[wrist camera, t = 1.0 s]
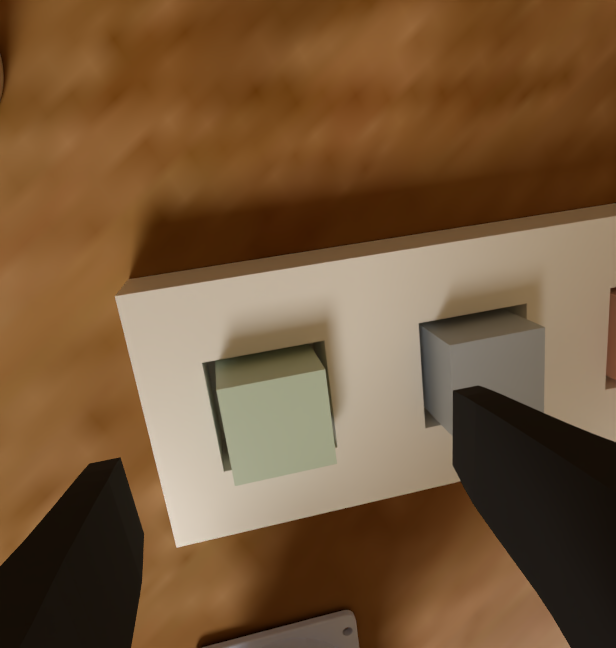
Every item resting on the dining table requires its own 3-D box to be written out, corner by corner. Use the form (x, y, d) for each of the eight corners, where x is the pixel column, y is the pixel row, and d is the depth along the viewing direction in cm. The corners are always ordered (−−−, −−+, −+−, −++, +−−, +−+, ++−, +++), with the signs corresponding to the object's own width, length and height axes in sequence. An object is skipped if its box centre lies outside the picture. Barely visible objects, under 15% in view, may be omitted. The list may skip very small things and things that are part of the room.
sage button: (320, 427, 20) (337, 463, 18) (231, 445, 20) (234, 486, 17) (309, 343, 19) (325, 369, 17) (215, 360, 19) (216, 390, 16)
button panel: (676, 391, 26) (733, 417, 23) (180, 500, 22) (176, 547, 19) (695, 190, 23) (764, 191, 20) (128, 279, 19) (114, 296, 17)
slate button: (502, 389, 22) (543, 418, 19) (423, 405, 21) (454, 438, 18) (501, 308, 21) (544, 327, 18) (417, 323, 20) (449, 345, 17)
